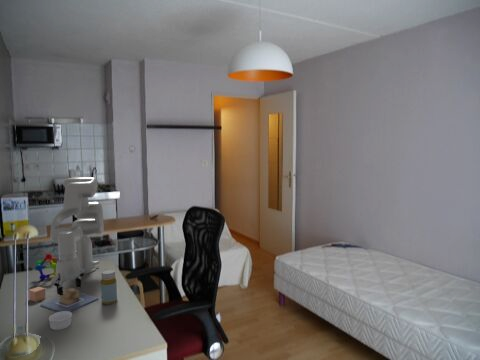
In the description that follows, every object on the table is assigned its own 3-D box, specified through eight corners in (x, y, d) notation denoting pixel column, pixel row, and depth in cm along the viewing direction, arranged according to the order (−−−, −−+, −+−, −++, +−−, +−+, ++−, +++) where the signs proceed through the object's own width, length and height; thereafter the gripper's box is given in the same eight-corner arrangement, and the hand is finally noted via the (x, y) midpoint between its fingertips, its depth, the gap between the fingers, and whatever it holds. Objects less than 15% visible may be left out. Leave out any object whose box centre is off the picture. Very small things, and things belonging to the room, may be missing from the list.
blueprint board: (74, 292, 185) (74, 290, 185) (97, 299, 176) (97, 297, 176) (40, 305, 169) (40, 304, 169) (64, 314, 161) (64, 312, 160)
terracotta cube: (39, 296, 181) (38, 286, 180) (45, 298, 178) (44, 288, 178) (29, 299, 176) (29, 290, 176) (35, 302, 174) (35, 292, 173)
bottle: (112, 305, 169) (110, 274, 168) (98, 304, 171) (97, 273, 170) (119, 299, 176) (118, 269, 175) (106, 298, 178) (105, 268, 176)
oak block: (71, 297, 177) (71, 288, 176) (79, 300, 174) (78, 290, 173) (60, 302, 172) (59, 292, 171) (67, 305, 169) (67, 294, 168)
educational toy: (33, 280, 206) (31, 254, 205) (58, 275, 213) (56, 250, 213) (38, 285, 193) (36, 257, 193) (64, 280, 201) (62, 253, 201)
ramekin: (75, 325, 150) (75, 315, 150) (53, 333, 144) (52, 323, 144) (68, 318, 157) (67, 309, 156) (46, 325, 151) (45, 315, 150)
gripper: (78, 250, 180) (80, 283, 182) (45, 260, 165) (47, 295, 167) (88, 252, 177) (90, 286, 179) (55, 263, 162) (57, 299, 164)
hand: (69, 290), depth 173 cm, fingers open, 9 cm apart
